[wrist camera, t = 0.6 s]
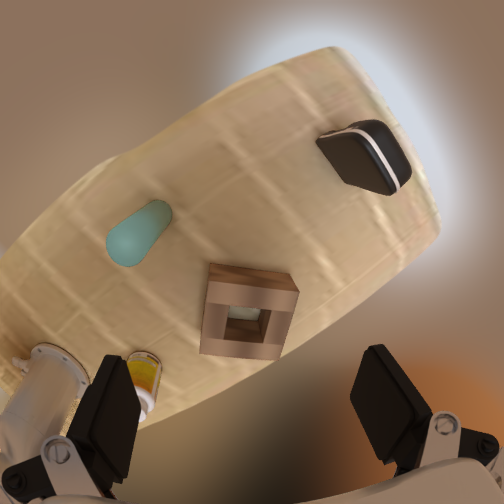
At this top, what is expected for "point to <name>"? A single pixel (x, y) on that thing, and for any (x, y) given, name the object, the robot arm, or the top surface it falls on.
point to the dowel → (138, 233)
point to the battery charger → (367, 156)
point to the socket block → (253, 296)
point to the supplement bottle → (145, 379)
